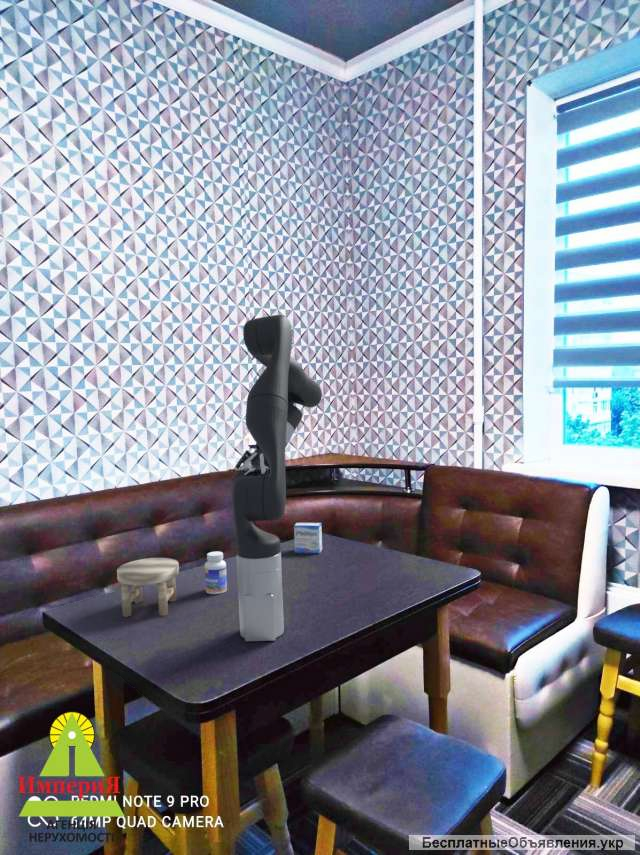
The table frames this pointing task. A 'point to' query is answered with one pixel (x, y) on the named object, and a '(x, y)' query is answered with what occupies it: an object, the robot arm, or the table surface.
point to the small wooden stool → (148, 581)
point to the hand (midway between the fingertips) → (245, 486)
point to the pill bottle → (215, 573)
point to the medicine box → (308, 537)
